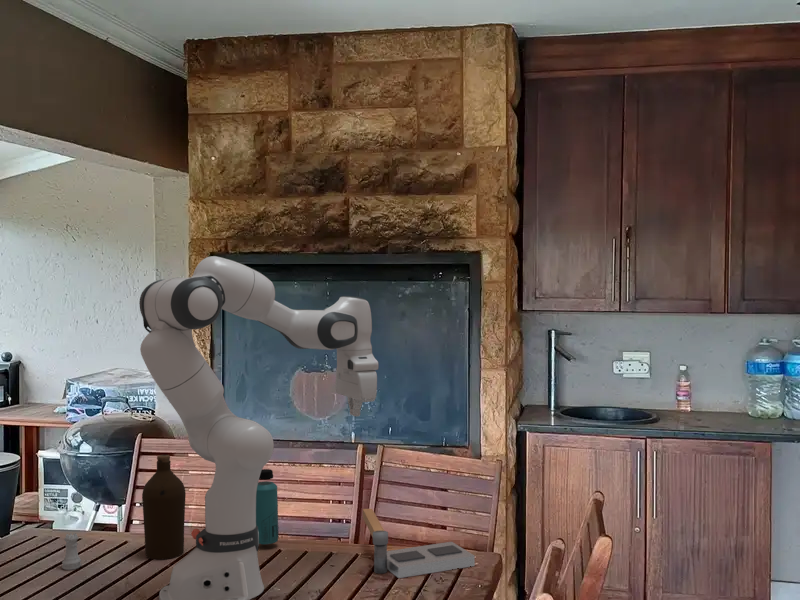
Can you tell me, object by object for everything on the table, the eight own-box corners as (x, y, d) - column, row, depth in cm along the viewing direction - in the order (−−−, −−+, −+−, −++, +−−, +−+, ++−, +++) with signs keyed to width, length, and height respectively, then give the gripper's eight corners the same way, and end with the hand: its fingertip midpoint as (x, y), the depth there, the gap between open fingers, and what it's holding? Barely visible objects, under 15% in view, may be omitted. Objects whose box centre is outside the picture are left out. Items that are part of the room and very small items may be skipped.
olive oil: (193, 554, 208) (192, 455, 208) (154, 563, 201) (153, 462, 201) (173, 544, 216) (172, 449, 216) (135, 553, 209) (134, 455, 208)
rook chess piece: (57, 568, 198) (57, 535, 198) (72, 563, 202) (72, 530, 202) (70, 571, 196) (70, 538, 196) (85, 566, 200) (85, 533, 200)
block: (384, 580, 188) (384, 552, 188) (365, 564, 199) (365, 537, 199) (474, 565, 198) (474, 539, 198) (451, 551, 209) (451, 525, 209)
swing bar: (389, 544, 193) (389, 534, 193) (374, 545, 192) (374, 535, 192) (374, 517, 216) (374, 508, 216) (360, 518, 215) (360, 509, 215)
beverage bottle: (273, 551, 210) (273, 473, 210) (249, 549, 211) (248, 472, 211) (282, 543, 216) (281, 467, 216) (258, 541, 218) (258, 466, 217)
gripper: (329, 358, 214) (329, 410, 215) (356, 364, 196) (357, 422, 196) (351, 357, 217) (352, 409, 217) (381, 363, 198) (381, 420, 198)
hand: (355, 415), depth 206 cm, fingers closed
